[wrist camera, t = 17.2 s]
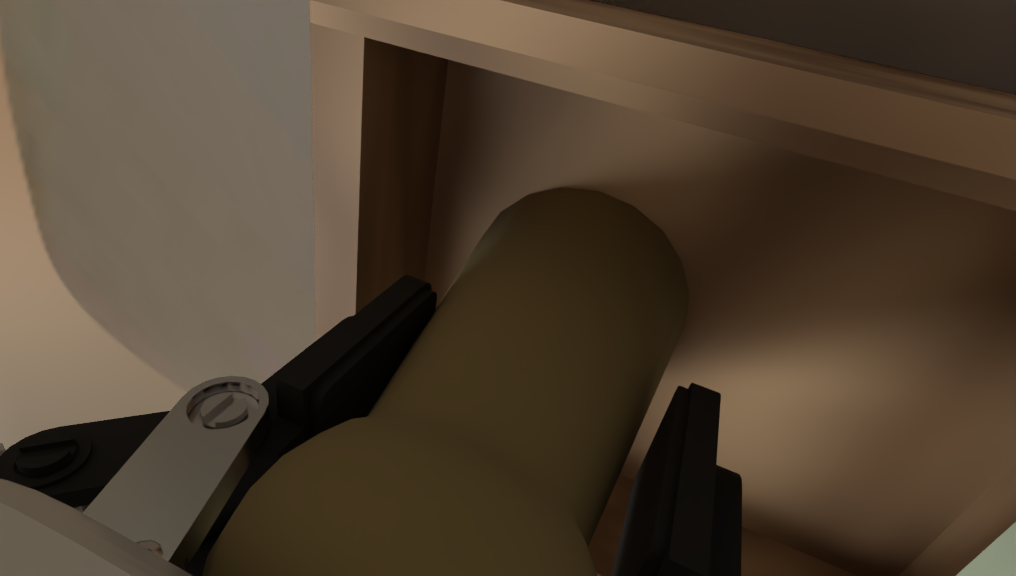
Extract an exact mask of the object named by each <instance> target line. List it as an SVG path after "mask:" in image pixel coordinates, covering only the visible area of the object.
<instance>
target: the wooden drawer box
mask: <svg viewBox="0 0 1016 576" xmlns="http://www.w3.org/2000/svg"><path fill="white" fill-rule="evenodd" d="M310 33H311V91H312V149H313V207H314V265H315V323H316V341H317V340H318V339H319V338H320V337H322V336H323V335H324V334H325V333H327V332H328V331H329V330H331V329H332V328H333V327H334V326H336V325H337V324H338V323H339V322H341V321H342V320H343V319H345V318H347V317H348V316H354V315H355V314H356V313H357V312H359V311H360V310H361V309H362V308H364V307H365V306H366V305H367V304H369V303H370V302H371V301H372V300H374V299H375V298H376V297H377V296H379V295H380V294H381V293H382V292H384V291H385V290H386V289H387V288H389V287H390V286H391V285H393V284H394V283H395V282H396V281H398V280H399V279H400V278H401V277H403V276H404V275H410V276H413V277H415V278H418V279H420V280H423V281H426V282H428V283H430V284H431V287H432V291H434V292H436V293H437V302H436V308H437V306H438V305H439V303H440V302H441V300H442V298H443V297H444V295H445V294H446V292H447V291H448V289H449V287H450V286H451V284H452V283H453V281H454V280H455V278H456V277H457V275H458V273H459V272H460V270H461V269H462V267H463V266H464V264H465V262H466V261H467V259H468V258H469V256H470V255H471V253H472V252H473V250H474V248H475V247H476V245H477V244H478V242H479V241H480V239H481V237H482V236H483V235H484V233H485V232H486V231H487V229H488V228H489V227H490V225H491V224H492V223H493V221H494V220H495V219H496V217H497V216H498V215H499V213H500V212H501V211H503V210H505V209H506V208H508V207H509V206H511V205H513V204H514V203H516V202H517V201H519V200H520V199H522V198H524V197H525V196H527V195H530V194H534V193H539V192H543V191H548V190H552V189H556V188H561V187H562V188H573V189H583V190H593V191H600V192H602V193H604V194H607V195H609V196H611V197H614V198H616V199H618V200H621V201H623V202H626V203H628V204H630V205H633V206H634V207H636V208H637V209H638V210H639V211H640V212H641V213H643V214H644V215H645V216H646V217H647V218H649V219H650V220H651V221H652V222H653V223H654V224H656V225H657V226H658V227H659V228H660V229H661V230H663V232H664V233H665V235H666V236H667V238H668V240H669V241H670V243H671V245H672V246H673V248H674V250H675V251H676V253H677V254H678V256H679V258H680V259H681V261H682V263H683V268H684V273H685V278H686V283H687V288H688V292H689V300H688V306H687V312H686V318H685V324H684V328H683V330H682V333H681V335H680V337H679V339H678V342H677V344H676V346H675V349H674V351H673V353H672V356H671V358H670V360H669V362H668V365H667V367H666V369H665V372H664V374H663V376H662V378H661V381H660V383H659V385H658V388H657V390H656V392H655V395H654V397H653V399H652V401H651V404H650V406H649V408H648V411H647V413H646V415H645V417H644V420H643V422H642V424H641V427H640V429H639V431H638V434H637V436H636V438H635V440H634V443H633V445H632V447H631V450H630V452H629V454H628V456H627V459H626V461H625V463H624V466H623V468H622V470H621V472H620V475H619V477H618V479H617V482H616V484H615V486H614V489H613V491H612V493H611V495H610V498H609V500H608V502H607V505H606V507H605V509H604V511H603V514H602V516H601V518H600V521H599V523H598V525H597V528H596V530H595V532H594V534H593V537H592V539H591V541H590V544H589V546H588V550H589V553H590V556H591V559H592V562H593V564H594V567H595V570H596V573H597V576H611V575H612V570H613V566H614V562H615V558H616V554H617V549H618V545H619V541H620V537H621V532H622V528H623V524H624V520H625V516H626V511H627V507H628V503H629V499H630V495H631V490H632V487H633V484H634V481H635V478H636V475H637V473H638V471H639V469H640V467H641V464H642V462H643V460H644V458H645V456H646V454H647V451H648V449H649V447H650V445H651V443H652V441H653V438H654V436H655V434H656V432H657V430H658V428H659V426H660V423H661V421H662V419H663V417H664V415H665V413H666V410H667V408H668V406H669V404H670V402H671V400H672V397H673V395H674V393H675V391H676V389H677V387H678V386H682V387H685V388H687V389H688V387H689V386H690V384H691V383H695V384H697V385H700V386H703V387H705V388H708V389H711V390H713V391H716V392H719V393H720V394H721V403H720V418H719V432H718V447H717V462H716V465H718V466H721V467H723V468H726V469H728V470H730V471H733V472H735V473H738V474H740V476H741V478H742V549H741V576H956V575H957V574H958V573H959V572H960V571H961V570H963V569H964V568H965V567H966V566H967V565H968V564H969V563H970V562H972V561H973V560H974V559H975V558H976V557H977V556H978V555H979V554H980V553H982V552H983V551H984V550H985V549H986V548H987V547H988V546H989V545H990V544H992V543H993V542H994V541H995V540H996V539H997V538H998V537H999V536H1000V535H1002V534H1003V533H1004V532H1005V531H1006V530H1007V529H1008V528H1009V527H1010V526H1012V525H1013V524H1014V523H1015V522H1016V95H1015V94H1011V93H1006V92H1002V91H997V90H993V89H988V88H984V87H979V86H975V85H970V84H966V83H961V82H957V81H952V80H948V79H943V78H939V77H934V76H930V75H925V74H921V73H916V72H912V71H907V70H903V69H898V68H894V67H890V66H885V65H881V64H876V63H872V62H867V61H863V60H858V59H854V58H849V57H845V56H840V55H836V54H831V53H827V52H822V51H818V50H813V49H809V48H804V47H800V46H795V45H791V44H786V43H782V42H777V41H773V40H768V39H764V38H760V37H755V36H751V35H746V34H742V33H737V32H733V31H728V30H724V29H719V28H715V27H710V26H706V25H701V24H697V23H692V22H688V21H683V20H679V19H674V18H670V17H665V16H661V15H656V14H652V13H647V12H643V11H639V10H634V9H630V8H625V7H621V6H616V5H612V4H607V3H603V2H598V1H594V0H310Z"/></svg>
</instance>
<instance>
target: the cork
mask: <svg viewBox="0 0 1016 576" xmlns="http://www.w3.org/2000/svg"><path fill="white" fill-rule="evenodd" d="M688 300H689V292H688V288H687V283H686V278H685V273H684V268H683V263H682V261H681V259H680V258H679V256H678V254H677V253H676V251H675V250H674V248H673V246H672V245H671V243H670V241H669V240H668V238H667V236H666V235H665V233H664V232H663V230H661V229H660V228H659V227H658V226H657V225H656V224H654V223H653V222H652V221H651V220H650V219H649V218H647V217H646V216H645V215H644V214H643V213H641V212H640V211H639V210H638V209H637V208H636V207H634V206H633V205H630V204H628V203H626V202H623V201H621V200H618V199H616V198H614V197H611V196H609V195H607V194H604V193H602V192H600V191H593V190H583V189H573V188H562V187H561V188H556V189H552V190H548V191H543V192H539V193H534V194H530V195H527V196H525V197H524V198H522V199H520V200H519V201H517V202H516V203H514V204H513V205H511V206H509V207H508V208H506V209H505V210H503V211H501V212H500V213H499V215H498V216H497V217H496V219H495V220H494V221H493V223H492V224H491V225H490V227H489V228H488V229H487V231H486V232H485V233H484V235H483V236H482V237H481V239H480V241H479V242H478V244H477V245H476V247H475V248H474V250H473V252H472V253H471V255H470V256H469V258H468V259H467V261H466V262H465V264H464V266H463V267H462V269H461V270H460V272H459V273H458V275H457V277H456V278H455V280H454V281H453V283H452V284H451V286H450V287H449V289H448V291H447V292H446V294H445V295H444V297H443V298H442V300H441V302H440V303H439V305H438V306H437V308H436V310H435V312H434V314H433V315H432V317H431V318H430V320H429V321H428V323H427V324H426V326H425V327H424V329H423V330H422V332H421V333H420V335H419V336H418V338H417V339H416V341H415V342H414V344H413V345H412V347H411V348H410V350H409V352H408V353H407V355H406V356H405V358H404V359H403V361H402V362H401V364H400V366H399V367H398V369H397V370H396V372H395V373H394V375H393V377H392V378H391V380H390V381H389V383H388V384H387V386H386V388H385V389H384V391H383V392H382V394H381V395H380V397H379V398H378V400H377V402H376V403H375V405H374V406H373V408H372V409H371V411H370V413H369V414H368V416H367V417H362V418H354V419H350V420H348V421H346V422H344V423H341V424H339V425H337V426H335V427H332V428H330V429H328V430H326V431H323V432H321V433H319V434H318V435H316V436H314V437H313V438H311V439H309V440H308V441H306V442H304V443H303V444H301V445H299V446H298V447H296V448H294V449H293V450H291V451H289V452H288V453H286V454H285V455H283V456H282V457H281V458H280V459H279V460H278V461H277V462H276V463H275V464H274V465H273V466H272V467H271V468H270V469H269V470H268V471H267V472H266V473H265V474H264V475H263V476H262V477H261V478H260V479H259V480H258V481H257V482H256V483H255V484H254V485H252V486H251V487H250V489H249V490H248V492H247V493H246V495H245V496H244V498H243V499H242V501H241V502H240V504H239V506H238V507H237V509H236V510H235V512H234V513H233V515H232V516H231V518H230V520H229V521H228V523H227V524H226V526H225V528H224V529H223V531H222V533H221V534H220V536H219V537H218V539H217V541H216V542H215V544H214V545H213V547H212V549H211V550H210V552H209V554H208V556H207V560H206V563H205V567H204V571H203V574H202V576H597V573H596V570H595V567H594V564H593V562H592V559H591V556H590V553H589V550H588V546H589V544H590V541H591V539H592V537H593V534H594V532H595V530H596V528H597V525H598V523H599V521H600V518H601V516H602V514H603V511H604V509H605V507H606V505H607V502H608V500H609V498H610V495H611V493H612V491H613V489H614V486H615V484H616V482H617V479H618V477H619V475H620V472H621V470H622V468H623V466H624V463H625V461H626V459H627V456H628V454H629V452H630V450H631V447H632V445H633V443H634V440H635V438H636V436H637V434H638V431H639V429H640V427H641V424H642V422H643V420H644V417H645V415H646V413H647V411H648V408H649V406H650V404H651V401H652V399H653V397H654V395H655V392H656V390H657V388H658V385H659V383H660V381H661V378H662V376H663V374H664V372H665V369H666V367H667V365H668V362H669V360H670V358H671V356H672V353H673V351H674V349H675V346H676V344H677V342H678V339H679V337H680V335H681V333H682V330H683V328H684V324H685V318H686V312H687V306H688Z"/></svg>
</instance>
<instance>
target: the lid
mask: <svg viewBox="0 0 1016 576" xmlns="http://www.w3.org/2000/svg"><path fill="white" fill-rule="evenodd" d="M956 576H1016V522H1015V523H1014V524H1013V525H1012V526H1010V527H1009V528H1008V529H1007V530H1006V531H1005V532H1004V533H1003V534H1002V535H1000V536H999V537H998V538H997V539H996V540H995V541H994V542H993V543H992V544H990V545H989V546H988V547H987V548H986V549H985V550H984V551H983V552H982V553H980V554H979V555H978V556H977V557H976V558H975V559H974V560H973V561H972V562H970V563H969V564H968V565H967V566H966V567H965V568H964V569H963V570H961V571H960V572H959V573H958V574H957V575H956Z"/></svg>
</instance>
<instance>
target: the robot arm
mask: <svg viewBox="0 0 1016 576" xmlns="http://www.w3.org/2000/svg"><path fill="white" fill-rule="evenodd" d="M436 302H437V293H436V292H434V291H432V287H431V284H430V283H428V282H426V281H423V280H420V279H418V278H415V277H413V276H410V275H404V276H403V277H401V278H400V279H399V280H398V281H396V282H395V283H394V284H393V285H391V286H390V287H389V288H387V289H386V290H385V291H384V292H382V293H381V294H380V295H379V296H377V297H376V298H375V299H374V300H372V301H371V302H370V303H369V304H367V305H366V306H365V307H364V308H362V309H361V310H360V311H359V312H357V313H356V314H355V315H354V316H348V317H347V318H345V319H343V320H342V321H341V322H339V323H338V324H337V325H336V326H334V327H333V328H332V329H331V330H329V331H328V332H327V333H325V334H324V335H323V336H322V337H320V338H319V339H318V340H317V341H315V342H314V343H313V344H311V345H310V346H309V347H308V348H306V349H305V350H304V351H303V352H301V353H300V354H299V355H298V356H296V357H295V358H294V359H292V360H291V361H290V362H289V363H287V364H286V365H285V366H284V367H282V368H281V369H280V370H278V371H277V372H276V373H275V374H273V375H272V376H271V377H270V378H268V379H267V380H266V381H264V382H263V383H262V384H260V383H258V382H257V381H255V380H252V379H249V378H246V377H237V376H228V377H219V378H215V379H212V380H209V381H205V382H203V383H201V384H199V385H197V386H196V387H194V388H192V389H191V390H190V391H188V392H187V393H186V394H185V395H184V396H183V397H182V398H181V399H180V400H179V402H178V403H177V404H176V405H175V406H174V407H173V409H171V411H166V412H159V413H152V414H146V415H139V416H131V417H124V418H118V419H111V420H104V421H97V422H90V423H83V424H76V425H69V426H62V427H57V428H52V429H48V430H44V431H41V432H38V433H36V434H33V435H31V436H28V437H26V438H24V439H22V440H21V441H19V442H17V443H16V444H14V445H12V446H11V447H9V449H7V450H5V448H4V446H3V444H2V443H0V576H202V574H203V571H204V567H205V563H206V560H207V556H208V554H209V552H210V550H211V549H212V547H213V545H214V544H215V542H216V541H217V539H218V537H219V536H220V534H221V533H222V531H223V529H224V528H225V526H226V524H227V523H228V521H229V520H230V518H231V516H232V515H233V513H234V512H235V510H236V509H237V507H238V506H239V504H240V502H241V501H242V499H243V498H244V496H245V495H246V493H247V492H248V490H249V489H250V487H251V486H252V485H254V484H255V483H256V482H257V481H258V480H259V479H260V478H261V477H262V476H263V475H264V474H265V473H266V472H267V471H268V470H269V469H270V468H271V467H272V466H273V465H274V464H275V463H276V462H277V461H278V460H279V459H280V458H281V457H282V456H283V455H285V454H286V453H288V452H289V451H291V450H293V449H294V448H296V447H298V446H299V445H301V444H303V443H304V442H306V441H308V440H309V439H311V438H313V437H314V436H316V435H318V434H319V433H321V432H323V431H326V430H328V429H330V428H332V427H335V426H337V425H339V424H341V423H344V422H346V421H348V420H350V419H354V418H362V417H367V416H368V414H369V413H370V411H371V409H372V408H373V406H374V405H375V403H376V402H377V400H378V398H379V397H380V395H381V394H382V392H383V391H384V389H385V388H386V386H387V384H388V383H389V381H390V380H391V378H392V377H393V375H394V373H395V372H396V370H397V369H398V367H399V366H400V364H401V362H402V361H403V359H404V358H405V356H406V355H407V353H408V352H409V350H410V348H411V347H412V345H413V344H414V342H415V341H416V339H417V338H418V336H419V335H420V333H421V332H422V330H423V329H424V327H425V326H426V324H427V323H428V321H429V320H430V318H431V317H432V315H433V314H434V312H435V310H436ZM720 403H721V394H720V393H719V392H716V391H713V390H711V389H708V388H705V387H703V386H700V385H697V384H695V383H691V384H690V386H689V387H688V389H687V388H685V387H682V386H678V387H677V389H676V391H675V393H674V395H673V397H672V400H671V402H670V404H669V406H668V408H667V410H666V413H665V415H664V417H663V419H662V421H661V423H660V426H659V428H658V430H657V432H656V434H655V436H654V438H653V441H652V443H651V445H650V447H649V449H648V451H647V454H646V456H645V458H644V460H643V462H642V464H641V467H640V469H639V471H638V473H637V475H636V478H635V481H634V484H633V487H632V490H631V495H630V499H629V503H628V507H627V511H626V516H625V520H624V524H623V528H622V532H621V537H620V541H619V545H618V549H617V554H616V558H615V562H614V566H613V570H612V575H611V576H741V549H742V478H741V476H740V474H738V473H735V472H733V471H730V470H728V469H726V468H723V467H721V466H718V465H716V462H717V447H718V432H719V418H720Z"/></svg>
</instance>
